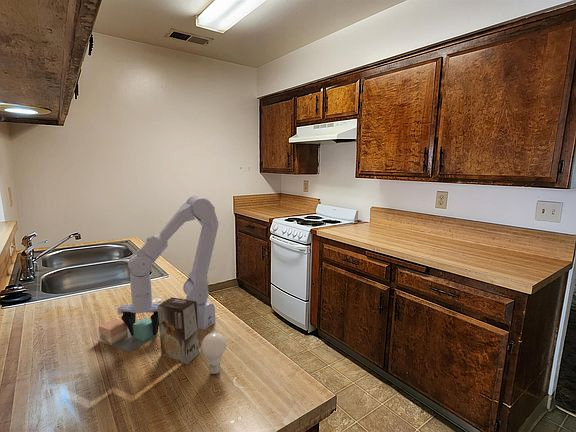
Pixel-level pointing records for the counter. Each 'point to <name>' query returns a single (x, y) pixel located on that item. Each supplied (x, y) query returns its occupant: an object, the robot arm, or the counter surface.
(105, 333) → the terracotta slab
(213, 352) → the lightbulb
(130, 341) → the slate board
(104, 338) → the maple slab
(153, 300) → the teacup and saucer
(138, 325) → the teal block
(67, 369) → the counter surface
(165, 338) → the coffee box
